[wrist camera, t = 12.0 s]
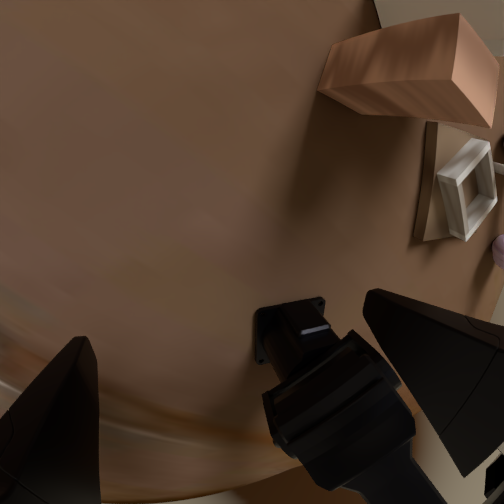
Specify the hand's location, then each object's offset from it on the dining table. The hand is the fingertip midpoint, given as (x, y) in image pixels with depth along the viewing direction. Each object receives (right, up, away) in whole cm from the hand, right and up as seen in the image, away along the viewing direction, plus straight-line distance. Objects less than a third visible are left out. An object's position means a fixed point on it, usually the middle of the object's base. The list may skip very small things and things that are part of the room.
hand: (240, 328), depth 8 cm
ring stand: (+23, +10, +18) cm, 31 cm away
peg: (+8, +16, +11) cm, 20 cm away
